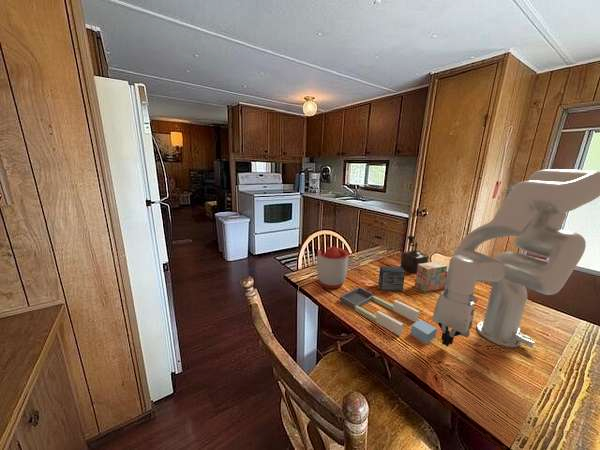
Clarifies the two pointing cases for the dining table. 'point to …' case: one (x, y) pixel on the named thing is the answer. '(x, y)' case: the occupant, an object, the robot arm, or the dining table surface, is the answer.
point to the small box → (391, 278)
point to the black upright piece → (412, 258)
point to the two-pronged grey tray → (363, 296)
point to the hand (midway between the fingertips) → (446, 343)
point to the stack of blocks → (431, 276)
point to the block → (423, 331)
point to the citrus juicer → (332, 267)
